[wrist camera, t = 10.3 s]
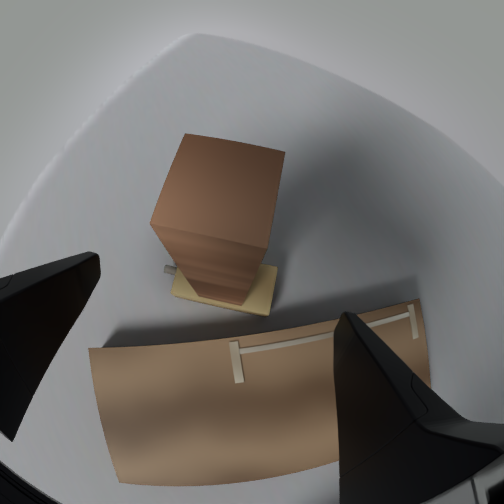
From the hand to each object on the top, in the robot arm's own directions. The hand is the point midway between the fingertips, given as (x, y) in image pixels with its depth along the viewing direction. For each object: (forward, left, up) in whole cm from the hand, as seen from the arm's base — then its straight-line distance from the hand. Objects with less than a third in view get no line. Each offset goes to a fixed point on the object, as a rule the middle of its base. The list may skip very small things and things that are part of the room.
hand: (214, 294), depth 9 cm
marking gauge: (+2, -1, -9) cm, 9 cm away
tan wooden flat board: (-6, -3, -9) cm, 11 cm away
